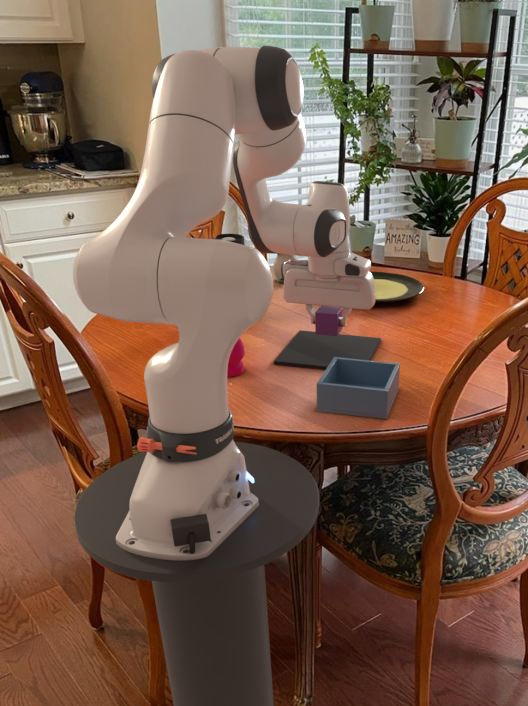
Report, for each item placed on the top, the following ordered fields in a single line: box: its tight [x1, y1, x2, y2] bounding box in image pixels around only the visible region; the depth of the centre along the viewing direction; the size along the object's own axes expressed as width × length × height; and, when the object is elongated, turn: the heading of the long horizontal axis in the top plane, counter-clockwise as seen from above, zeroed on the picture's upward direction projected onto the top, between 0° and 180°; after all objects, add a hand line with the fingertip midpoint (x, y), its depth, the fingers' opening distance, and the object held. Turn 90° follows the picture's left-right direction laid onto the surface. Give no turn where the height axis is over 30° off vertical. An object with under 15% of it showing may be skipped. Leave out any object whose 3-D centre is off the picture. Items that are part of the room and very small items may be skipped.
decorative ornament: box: [272, 253, 299, 284], centre depth 205 cm, size 9×7×15 cm
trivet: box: [273, 330, 382, 371], centre depth 162 cm, size 20×20×1 cm
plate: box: [369, 270, 425, 304], centre depth 199 cm, size 28×28×2 cm
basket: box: [316, 357, 401, 420], centre depth 139 cm, size 14×14×6 cm
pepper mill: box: [227, 337, 246, 378], centre depth 147 cm, size 7×7×20 cm
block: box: [314, 305, 344, 336], centre depth 158 cm, size 5×5×5 cm
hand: (329, 324), depth 159 cm, fingers closed on block, 5 cm apart
